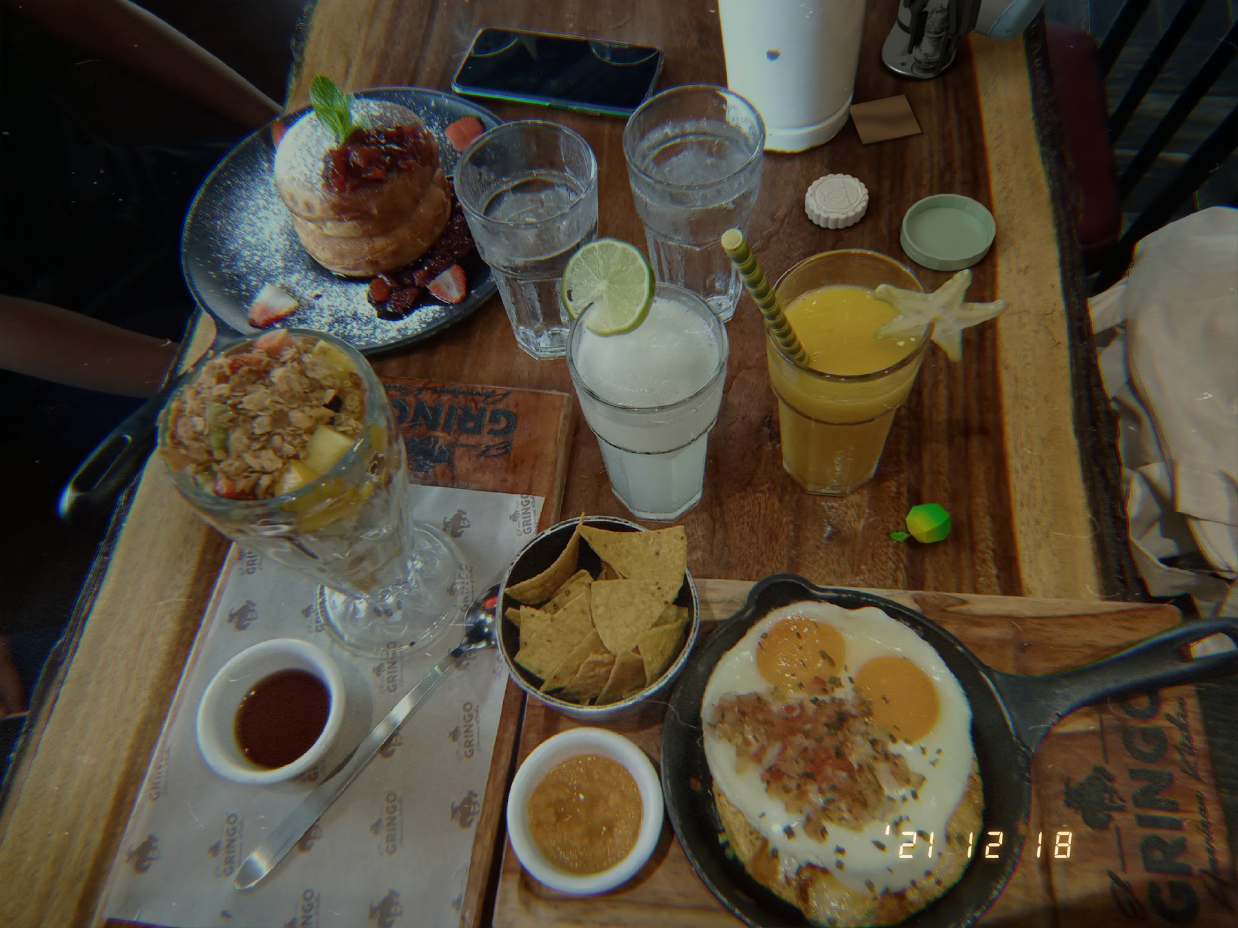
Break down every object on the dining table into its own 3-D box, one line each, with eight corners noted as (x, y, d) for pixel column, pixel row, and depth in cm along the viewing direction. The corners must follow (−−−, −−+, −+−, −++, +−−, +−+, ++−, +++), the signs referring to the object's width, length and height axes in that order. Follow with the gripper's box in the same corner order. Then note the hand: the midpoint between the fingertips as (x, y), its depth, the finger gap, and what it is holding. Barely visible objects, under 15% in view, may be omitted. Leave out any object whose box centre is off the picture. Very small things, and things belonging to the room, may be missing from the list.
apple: (951, 497, 109) (905, 531, 108) (968, 532, 110) (922, 565, 109) (920, 489, 116) (876, 521, 114) (936, 522, 117) (893, 553, 116)
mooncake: (799, 191, 149) (800, 177, 146) (858, 180, 148) (861, 166, 145) (811, 234, 144) (812, 221, 141) (873, 224, 143) (876, 210, 140)
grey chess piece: (943, 79, 131) (960, 14, 120) (908, 80, 132) (922, 16, 121) (943, 56, 133) (960, -9, 122) (908, 58, 134) (922, -7, 124)
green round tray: (889, 215, 143) (892, 203, 141) (973, 198, 142) (978, 186, 139) (914, 278, 136) (917, 267, 133) (1003, 261, 135) (1008, 250, 132)
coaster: (847, 107, 158) (848, 106, 157) (904, 96, 157) (904, 94, 156) (862, 145, 152) (863, 144, 152) (921, 133, 151) (921, 132, 151)
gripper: (895, -92, 113) (873, 46, 134) (997, -48, 105) (956, 92, 126) (929, -116, 114) (902, 25, 135) (1032, -74, 106) (986, 69, 127)
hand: (928, 57), depth 131 cm, fingers closed on grey chess piece, 6 cm apart
